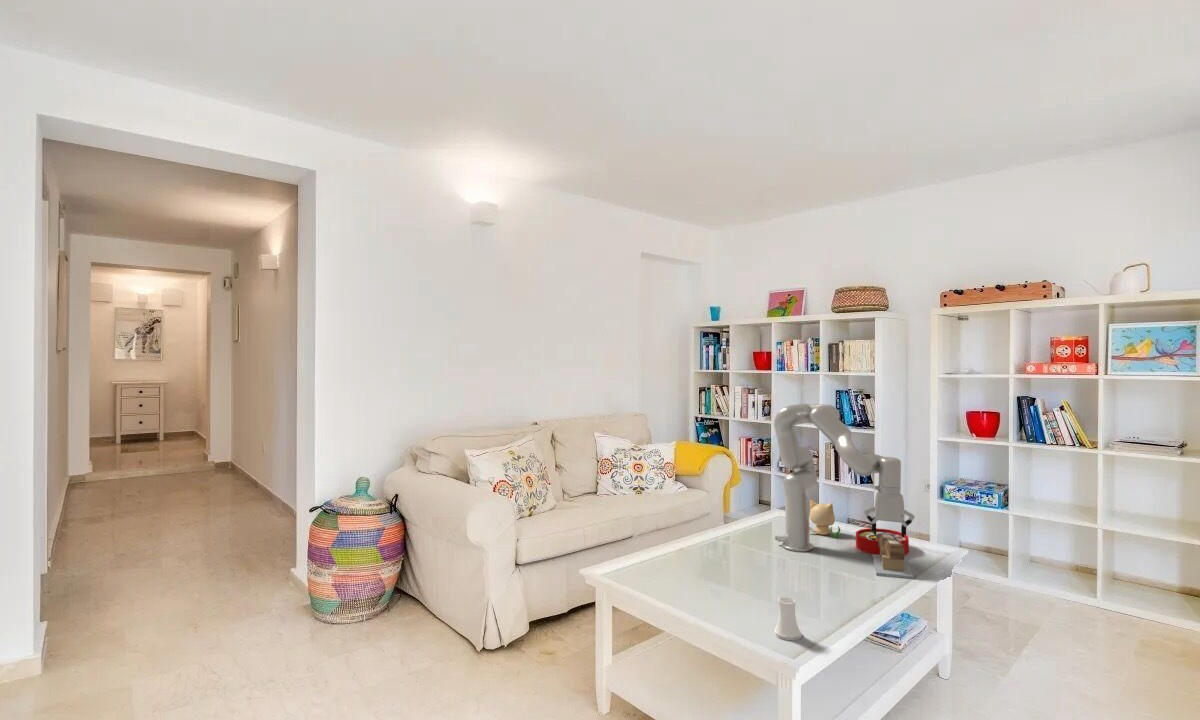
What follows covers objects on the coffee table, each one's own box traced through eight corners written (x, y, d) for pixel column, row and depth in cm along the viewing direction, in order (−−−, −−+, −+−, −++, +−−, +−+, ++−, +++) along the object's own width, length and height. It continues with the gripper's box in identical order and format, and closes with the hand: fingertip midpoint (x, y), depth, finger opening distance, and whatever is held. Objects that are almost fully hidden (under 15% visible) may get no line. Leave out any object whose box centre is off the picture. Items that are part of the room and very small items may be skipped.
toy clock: (847, 528, 263) (894, 527, 264) (848, 542, 264) (894, 541, 264) (868, 542, 243) (918, 541, 244) (868, 557, 244) (918, 556, 244)
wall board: (876, 575, 223) (876, 560, 223) (872, 556, 244) (872, 542, 244) (913, 578, 219) (912, 563, 219) (905, 559, 239) (905, 545, 239)
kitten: (844, 534, 274) (843, 501, 274) (835, 539, 267) (834, 505, 267) (812, 528, 284) (811, 496, 284) (802, 533, 277) (802, 500, 277)
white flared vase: (799, 642, 173) (798, 607, 172) (772, 637, 176) (771, 603, 176) (802, 631, 179) (802, 597, 179) (776, 627, 183) (775, 593, 182)
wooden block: (904, 559, 223) (904, 545, 223) (890, 559, 224) (889, 545, 224) (891, 546, 239) (891, 533, 239) (878, 546, 239) (877, 532, 239)
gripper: (865, 490, 231) (864, 535, 231) (916, 494, 225) (915, 540, 225) (864, 486, 238) (863, 529, 238) (913, 490, 232) (912, 534, 232)
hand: (888, 534), depth 232 cm, fingers open, 9 cm apart
